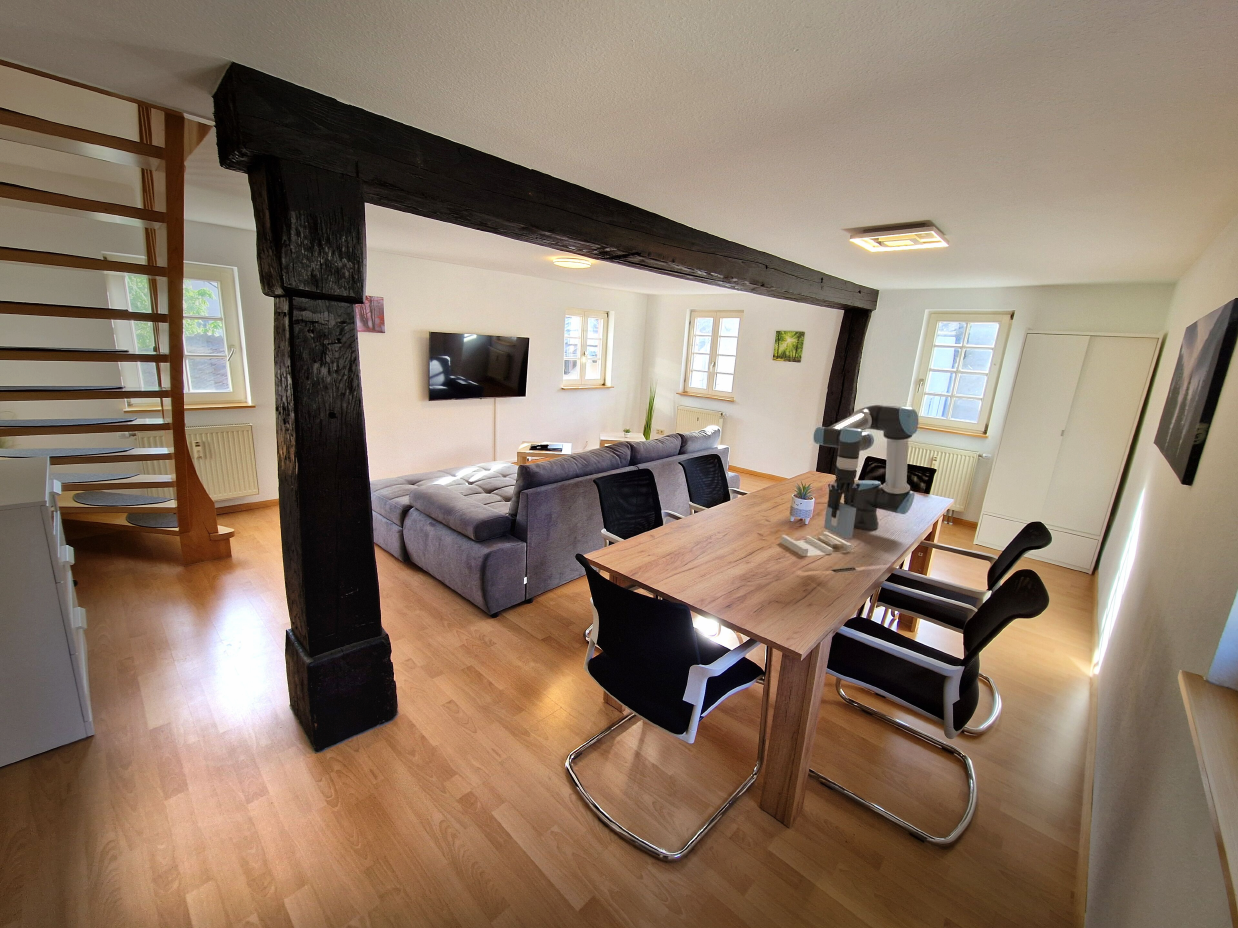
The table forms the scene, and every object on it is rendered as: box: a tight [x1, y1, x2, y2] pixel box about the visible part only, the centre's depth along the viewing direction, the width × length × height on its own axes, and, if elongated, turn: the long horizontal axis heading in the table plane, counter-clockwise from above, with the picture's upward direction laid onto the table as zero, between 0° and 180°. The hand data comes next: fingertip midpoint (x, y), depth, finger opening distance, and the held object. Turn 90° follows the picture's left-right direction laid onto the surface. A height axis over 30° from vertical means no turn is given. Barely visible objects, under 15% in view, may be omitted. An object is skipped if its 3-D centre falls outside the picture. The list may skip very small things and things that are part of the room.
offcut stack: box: [812, 535, 845, 552], centre depth 216 cm, size 6×14×3 cm, turn 16°
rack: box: [780, 531, 853, 557], centre depth 214 cm, size 24×16×4 cm, turn 106°
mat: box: [831, 567, 857, 574], centre depth 199 cm, size 10×14×1 cm
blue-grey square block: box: [823, 500, 856, 539], centre depth 195 cm, size 4×12×12 cm, turn 16°
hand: (838, 524), depth 195 cm, fingers closed on blue-grey square block, 3 cm apart
